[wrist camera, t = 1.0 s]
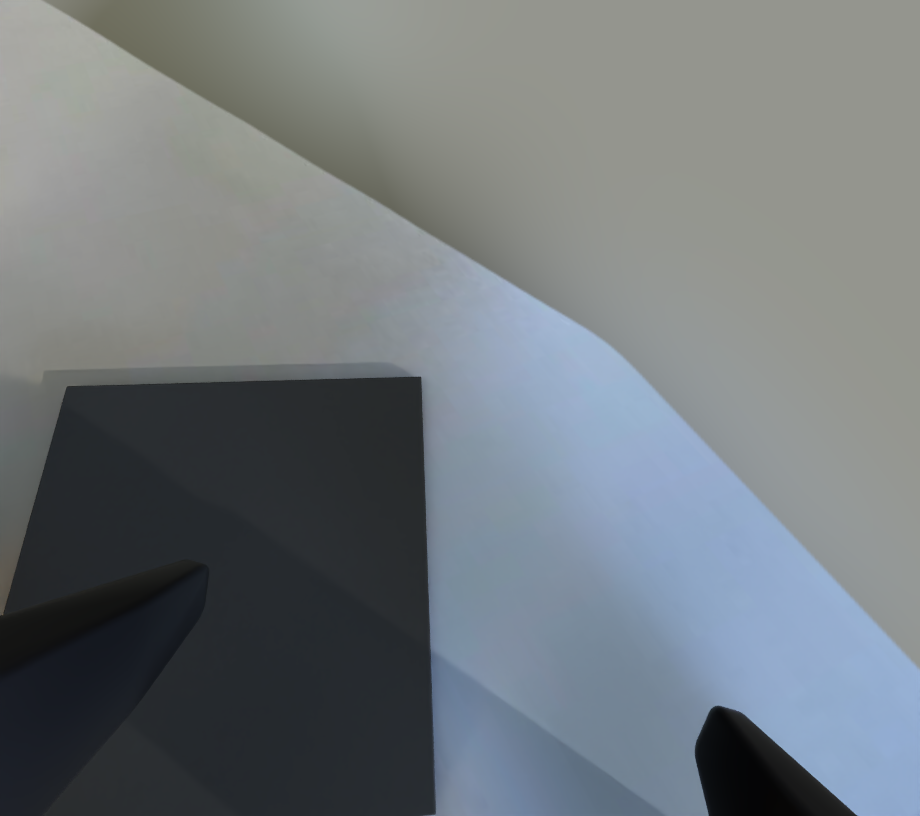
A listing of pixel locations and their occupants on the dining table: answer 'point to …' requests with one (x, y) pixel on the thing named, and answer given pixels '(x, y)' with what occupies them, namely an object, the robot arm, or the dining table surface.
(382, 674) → the mat
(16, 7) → the dining table surface
